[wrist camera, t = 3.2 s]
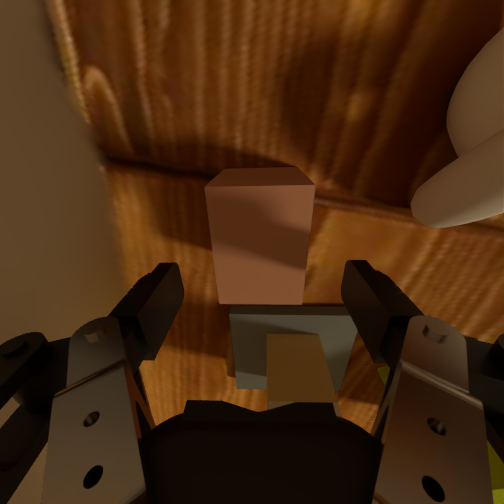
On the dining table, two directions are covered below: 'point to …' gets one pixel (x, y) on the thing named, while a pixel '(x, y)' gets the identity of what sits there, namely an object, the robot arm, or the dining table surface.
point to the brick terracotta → (260, 233)
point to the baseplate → (288, 322)
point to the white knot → (470, 147)
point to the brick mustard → (297, 369)
